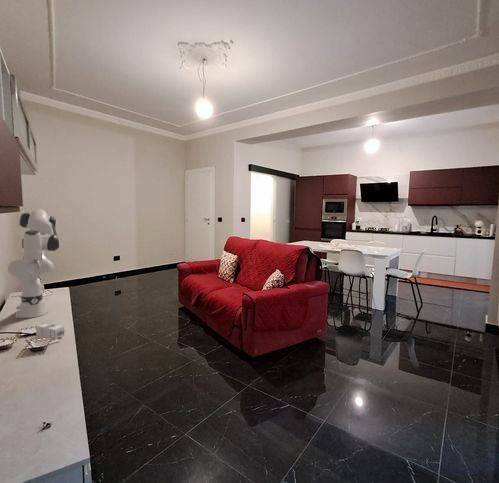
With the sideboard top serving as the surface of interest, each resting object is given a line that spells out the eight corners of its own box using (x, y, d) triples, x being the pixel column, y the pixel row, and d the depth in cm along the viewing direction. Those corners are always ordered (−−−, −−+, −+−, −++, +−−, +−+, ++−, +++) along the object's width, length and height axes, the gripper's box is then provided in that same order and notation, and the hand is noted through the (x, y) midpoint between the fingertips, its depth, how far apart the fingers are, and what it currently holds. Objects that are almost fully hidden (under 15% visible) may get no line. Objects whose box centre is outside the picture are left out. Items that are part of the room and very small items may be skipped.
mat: (26, 339, 166) (26, 338, 166) (50, 333, 176) (50, 332, 175) (34, 348, 156) (34, 347, 156) (59, 341, 165) (59, 340, 165)
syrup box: (36, 335, 170) (56, 339, 167) (35, 326, 170) (55, 329, 166) (45, 331, 176) (64, 335, 172) (44, 322, 175) (64, 325, 172)
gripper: (44, 260, 167) (45, 284, 169) (34, 255, 180) (35, 277, 182) (31, 262, 162) (32, 286, 164) (22, 256, 175) (22, 278, 177)
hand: (33, 281), depth 173 cm, fingers closed
